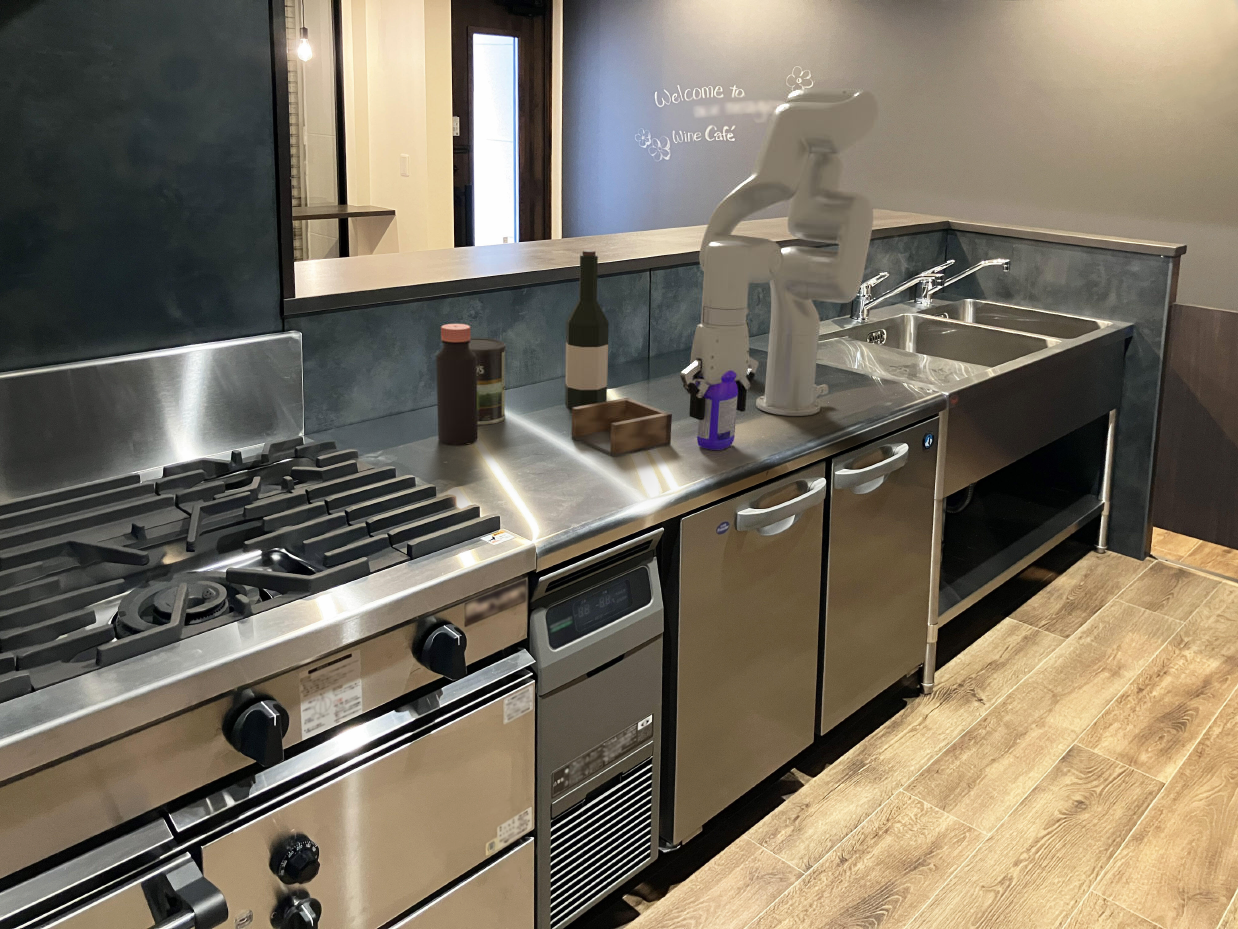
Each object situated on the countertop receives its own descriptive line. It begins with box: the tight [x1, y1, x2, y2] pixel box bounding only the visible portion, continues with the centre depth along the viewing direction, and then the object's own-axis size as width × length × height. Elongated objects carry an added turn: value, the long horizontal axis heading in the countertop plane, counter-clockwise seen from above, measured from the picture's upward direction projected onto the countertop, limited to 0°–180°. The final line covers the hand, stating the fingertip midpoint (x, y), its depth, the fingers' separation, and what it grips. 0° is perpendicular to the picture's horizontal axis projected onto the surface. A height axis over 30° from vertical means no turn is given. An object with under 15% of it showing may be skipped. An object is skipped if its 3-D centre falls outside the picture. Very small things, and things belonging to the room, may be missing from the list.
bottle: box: [696, 370, 738, 451], centre depth 179 cm, size 7×6×17 cm
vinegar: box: [435, 323, 479, 446], centre depth 178 cm, size 7×7×20 cm
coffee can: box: [469, 337, 506, 426], centre depth 192 cm, size 10×10×14 cm
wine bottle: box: [564, 249, 610, 410], centre depth 199 cm, size 8×8×30 cm
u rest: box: [571, 397, 673, 458], centre depth 182 cm, size 12×12×6 cm
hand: (717, 413), depth 180 cm, fingers open, 9 cm apart
